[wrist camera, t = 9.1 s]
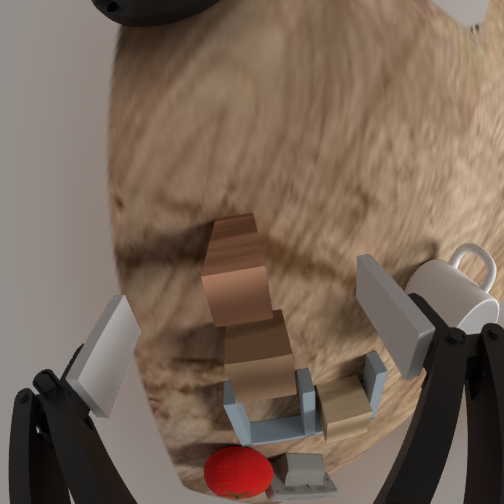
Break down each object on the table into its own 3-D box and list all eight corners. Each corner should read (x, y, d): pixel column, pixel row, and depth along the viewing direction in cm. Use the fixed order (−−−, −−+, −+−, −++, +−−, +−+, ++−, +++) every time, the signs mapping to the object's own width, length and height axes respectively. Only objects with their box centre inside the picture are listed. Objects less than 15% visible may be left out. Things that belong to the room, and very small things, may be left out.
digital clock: (251, 462, 44) (254, 505, 34) (280, 446, 42) (286, 494, 32) (308, 470, 48) (315, 506, 39) (336, 455, 46) (347, 493, 36)
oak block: (316, 384, 35) (327, 423, 28) (356, 374, 34) (372, 411, 28) (316, 407, 37) (325, 443, 30) (353, 397, 37) (366, 432, 30)
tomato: (214, 433, 39) (213, 487, 29) (280, 443, 41) (287, 491, 31) (198, 456, 42) (195, 500, 33) (255, 464, 45) (258, 506, 35)
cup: (390, 310, 30) (431, 365, 21) (432, 220, 26) (494, 255, 17) (431, 317, 32) (470, 364, 22) (470, 239, 27) (522, 273, 18)
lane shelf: (223, 381, 33) (223, 405, 29) (376, 350, 33) (387, 370, 29) (241, 426, 38) (242, 446, 34) (366, 400, 37) (374, 418, 34)
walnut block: (201, 222, 25) (179, 280, 15) (267, 211, 25) (288, 261, 15) (236, 357, 32) (238, 435, 21) (286, 349, 31) (303, 425, 21)
